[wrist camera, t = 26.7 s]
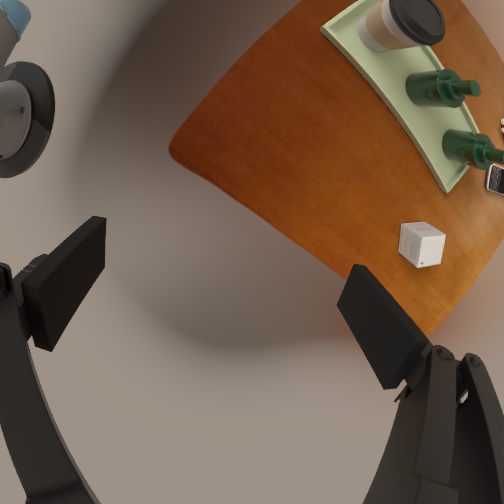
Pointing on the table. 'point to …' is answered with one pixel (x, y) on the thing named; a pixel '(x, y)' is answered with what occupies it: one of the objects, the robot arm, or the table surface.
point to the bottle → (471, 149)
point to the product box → (421, 244)
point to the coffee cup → (401, 25)
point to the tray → (403, 90)
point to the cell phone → (495, 179)
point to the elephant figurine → (503, 125)
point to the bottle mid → (439, 88)
